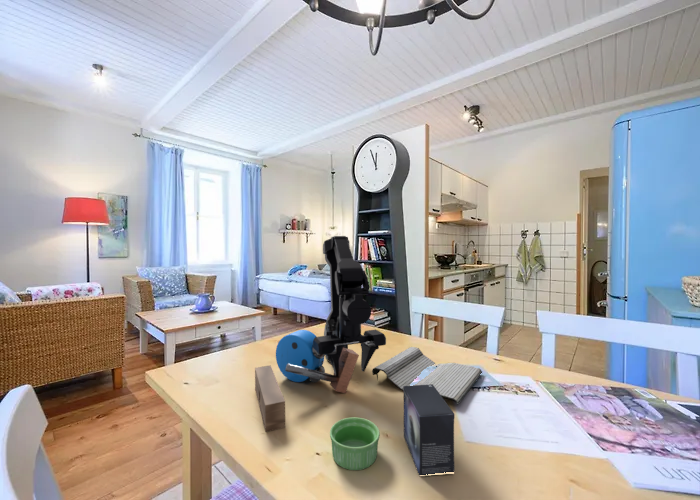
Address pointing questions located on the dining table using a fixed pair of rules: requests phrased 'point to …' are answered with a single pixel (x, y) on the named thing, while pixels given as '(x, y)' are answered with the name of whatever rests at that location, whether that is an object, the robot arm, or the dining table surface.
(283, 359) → the alarm clock
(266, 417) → the beam
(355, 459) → the ramekin
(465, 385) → the mat
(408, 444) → the small box
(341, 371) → the pin
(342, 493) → the dining table surface
